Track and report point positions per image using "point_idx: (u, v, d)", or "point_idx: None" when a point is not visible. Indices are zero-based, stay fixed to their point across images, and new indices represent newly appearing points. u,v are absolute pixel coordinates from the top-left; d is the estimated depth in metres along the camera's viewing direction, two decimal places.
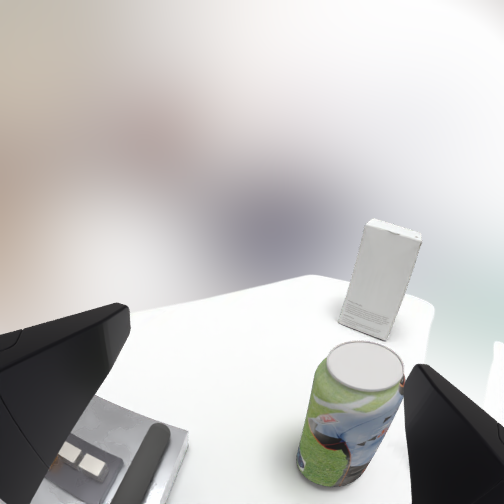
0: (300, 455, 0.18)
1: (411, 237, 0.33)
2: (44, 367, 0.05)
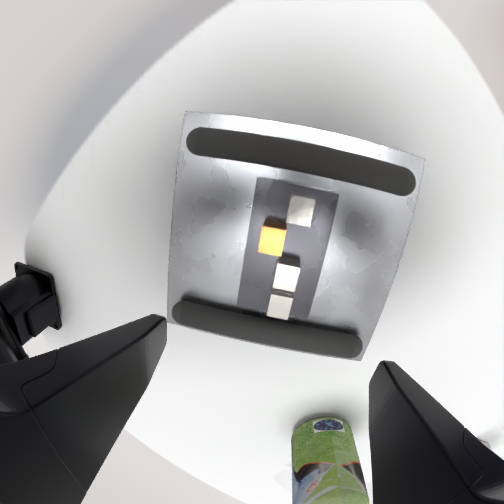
0: (324, 429, 0.22)
1: None
2: (88, 391, 0.05)
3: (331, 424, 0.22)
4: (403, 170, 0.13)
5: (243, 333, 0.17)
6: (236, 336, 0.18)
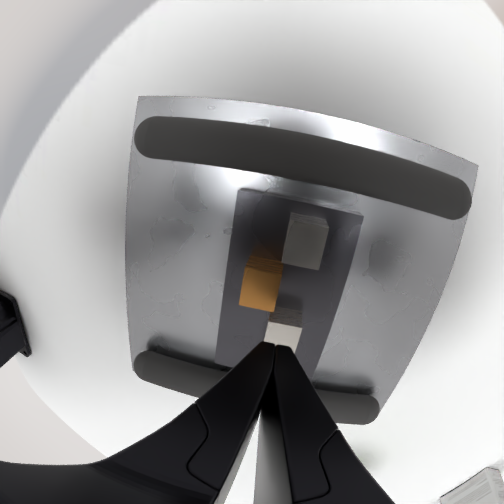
0: None
1: None
2: (245, 443, 0.04)
3: None
4: (456, 182, 0.08)
5: None
6: None
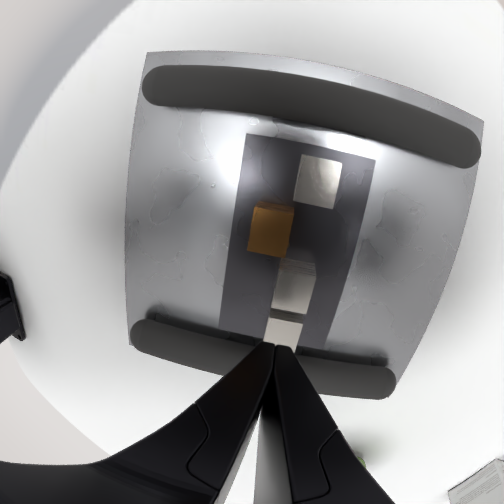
0: None
1: None
2: (245, 443, 0.04)
3: None
4: (465, 129, 0.07)
5: (227, 370, 0.11)
6: (218, 373, 0.12)
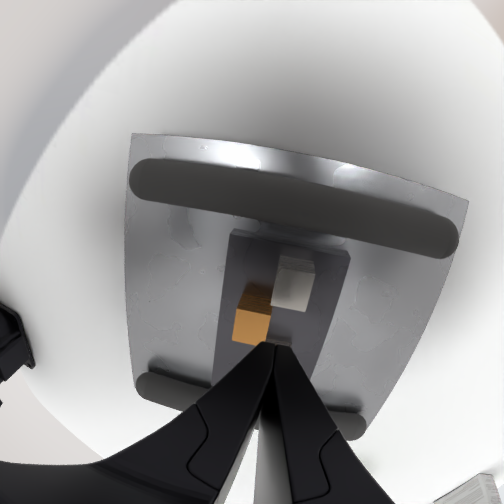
0: None
1: None
2: (245, 443, 0.04)
3: None
4: (444, 223, 0.09)
5: None
6: None
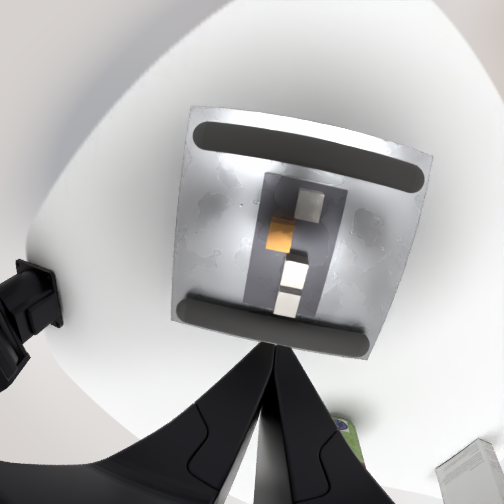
0: None
1: None
2: (245, 443, 0.04)
3: (336, 424, 0.22)
4: (412, 166, 0.13)
5: (249, 332, 0.17)
6: (242, 334, 0.17)
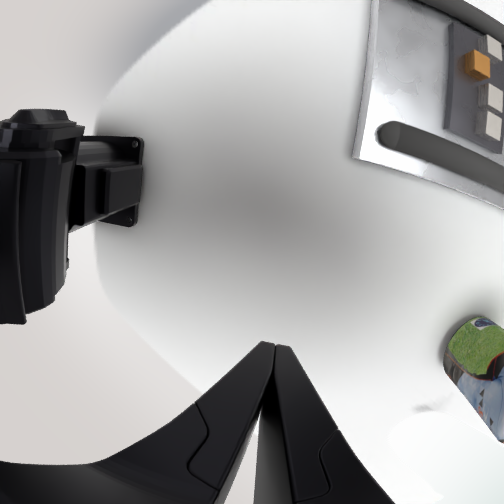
0: (487, 324, 0.16)
1: None
2: (245, 443, 0.04)
3: (488, 321, 0.17)
4: None
5: (462, 157, 0.12)
6: (456, 161, 0.12)
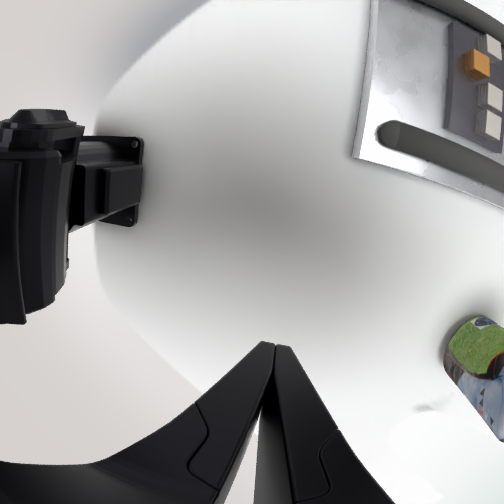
0: (487, 324, 0.16)
1: None
2: (245, 443, 0.04)
3: (489, 320, 0.17)
4: None
5: (462, 156, 0.12)
6: (455, 160, 0.12)
